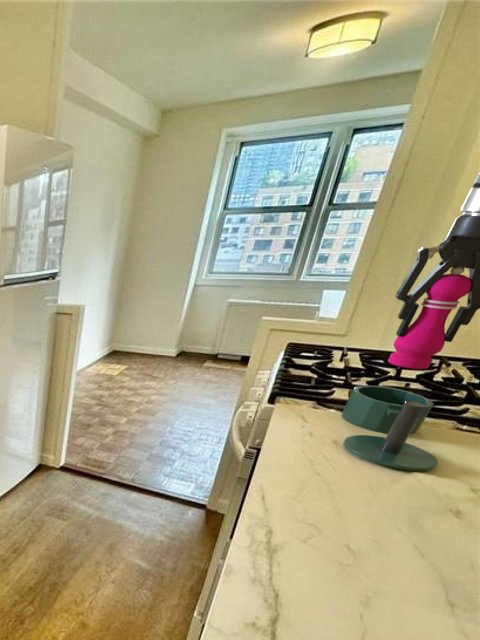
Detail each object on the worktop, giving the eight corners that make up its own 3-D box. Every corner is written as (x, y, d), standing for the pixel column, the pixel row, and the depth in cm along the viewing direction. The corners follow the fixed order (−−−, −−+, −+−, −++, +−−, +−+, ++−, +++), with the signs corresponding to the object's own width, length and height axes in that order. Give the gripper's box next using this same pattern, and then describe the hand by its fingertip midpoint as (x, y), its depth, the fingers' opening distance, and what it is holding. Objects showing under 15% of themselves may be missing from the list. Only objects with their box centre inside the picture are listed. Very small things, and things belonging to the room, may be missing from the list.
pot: (408, 414, 113) (422, 388, 109) (426, 445, 100) (443, 416, 97) (337, 403, 119) (349, 378, 116) (346, 430, 106) (359, 403, 103)
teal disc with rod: (426, 450, 98) (456, 399, 92) (443, 480, 88) (478, 425, 83) (338, 434, 105) (362, 386, 99) (345, 460, 95) (372, 408, 90)
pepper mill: (437, 366, 102) (493, 265, 92) (424, 372, 99) (480, 269, 89) (392, 357, 107) (440, 261, 98) (378, 362, 104) (427, 264, 95)
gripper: (420, 214, 91) (363, 335, 102) (579, 216, 81) (497, 349, 92) (411, 212, 97) (358, 327, 108) (559, 213, 87) (484, 340, 98)
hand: (422, 337), depth 100 cm, fingers closed on pepper mill, 6 cm apart
